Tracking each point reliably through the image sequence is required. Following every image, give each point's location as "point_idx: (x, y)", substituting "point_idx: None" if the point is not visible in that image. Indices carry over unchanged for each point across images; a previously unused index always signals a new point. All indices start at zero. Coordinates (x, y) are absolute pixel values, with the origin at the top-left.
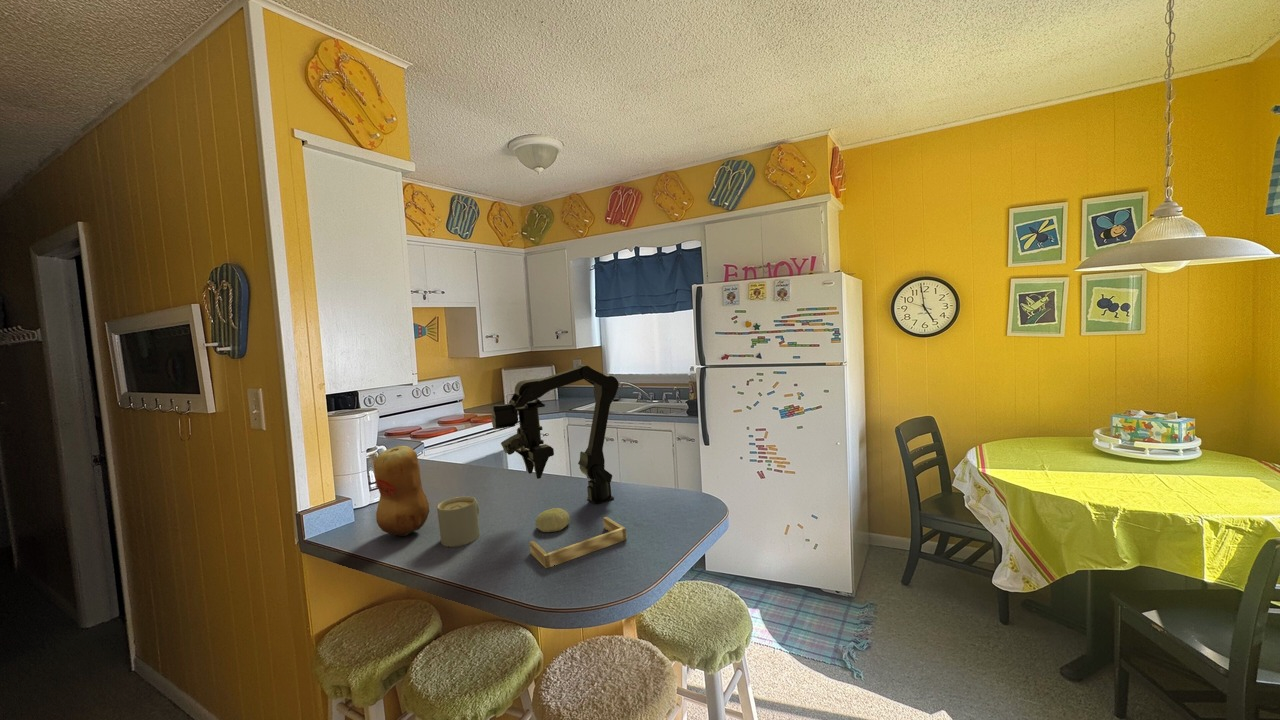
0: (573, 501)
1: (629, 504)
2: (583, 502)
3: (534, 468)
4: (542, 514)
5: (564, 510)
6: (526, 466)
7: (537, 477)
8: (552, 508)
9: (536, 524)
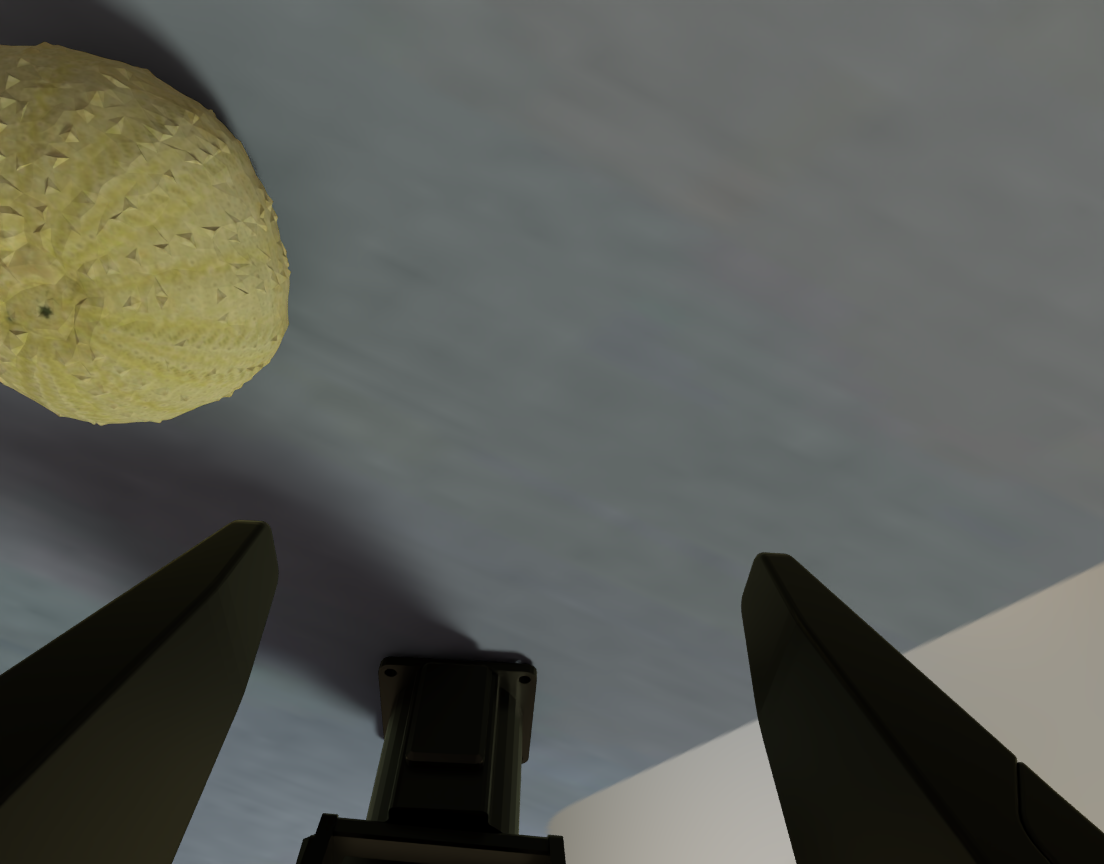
0: (580, 593)
1: (239, 751)
2: (498, 623)
3: (45, 712)
4: (13, 163)
5: (58, 410)
6: (859, 671)
7: (210, 539)
8: (132, 339)
9: (62, 49)
